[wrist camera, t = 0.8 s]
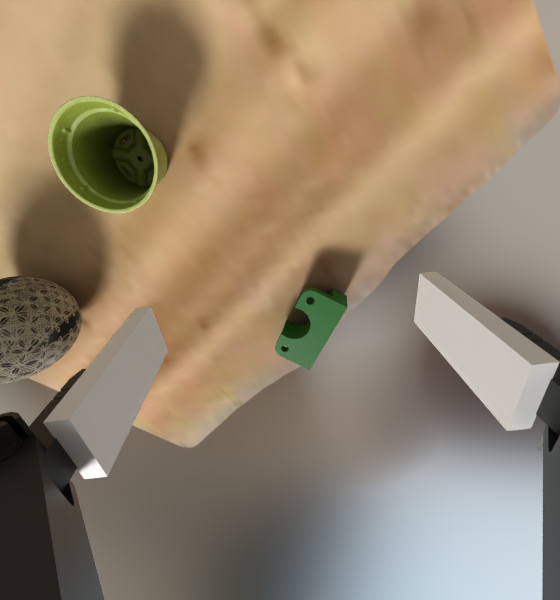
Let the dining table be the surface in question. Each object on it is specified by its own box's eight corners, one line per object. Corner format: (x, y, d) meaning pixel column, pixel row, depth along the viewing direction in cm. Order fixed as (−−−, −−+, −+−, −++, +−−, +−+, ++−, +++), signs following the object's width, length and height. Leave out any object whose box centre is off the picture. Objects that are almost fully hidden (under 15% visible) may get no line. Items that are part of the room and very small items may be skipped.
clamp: (306, 279, 46) (311, 274, 37) (339, 295, 46) (353, 295, 37) (273, 346, 47) (270, 358, 37) (306, 362, 46) (312, 378, 37)
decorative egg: (-3, 260, 38) (-146, 318, 25) (88, 261, 39) (-5, 319, 26) (29, 334, 44) (-75, 414, 30) (108, 334, 44) (41, 412, 31)
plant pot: (80, 149, 33) (24, 149, 25) (135, 88, 31) (91, 67, 23) (145, 215, 37) (113, 232, 29) (199, 165, 34) (179, 169, 27)
